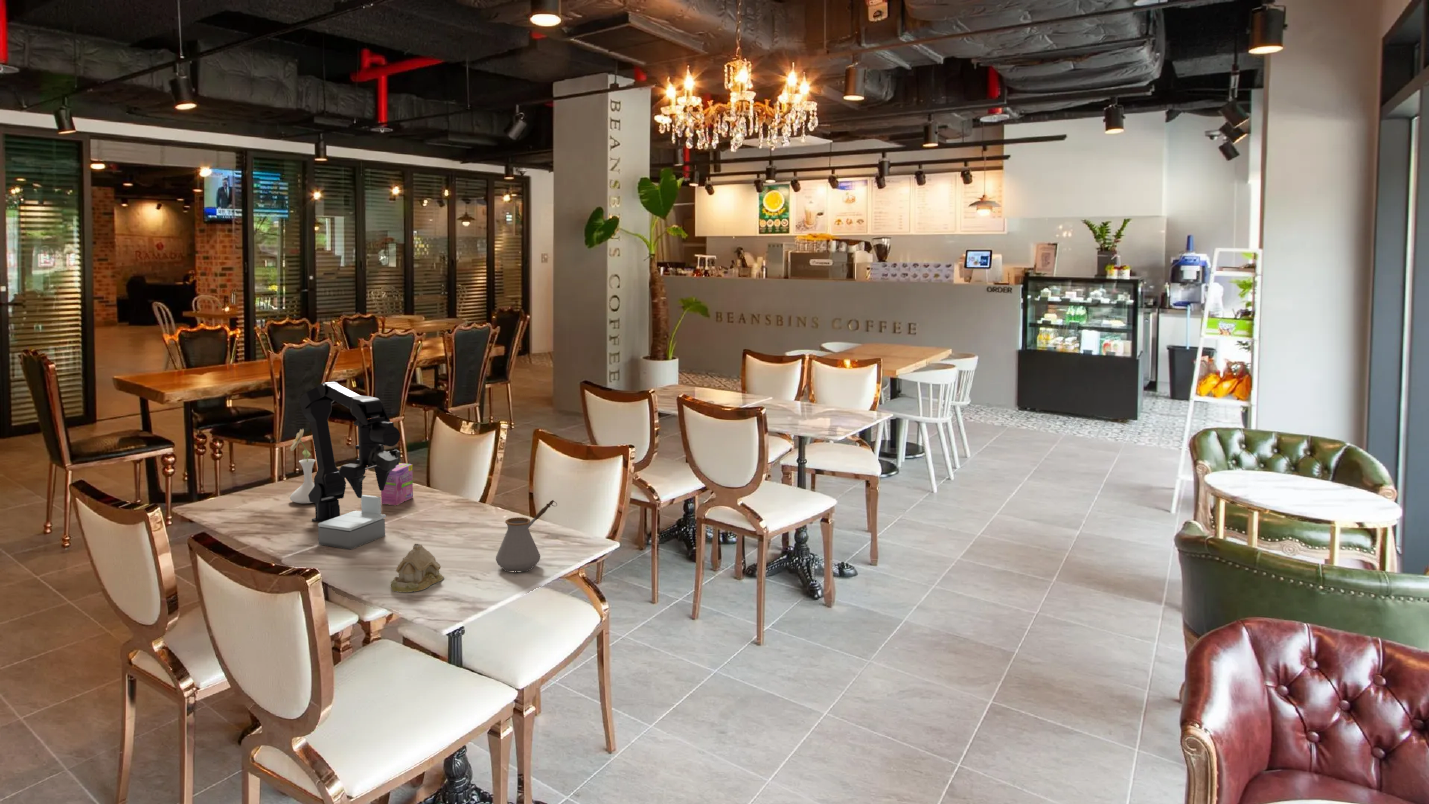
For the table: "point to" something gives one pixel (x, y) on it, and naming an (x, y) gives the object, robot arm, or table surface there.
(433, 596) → the table surface
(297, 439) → the flower in vase
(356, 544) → the tub
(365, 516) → the lid
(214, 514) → the table surface
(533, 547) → the coffee pot
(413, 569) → the ceramic model
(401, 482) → the box
